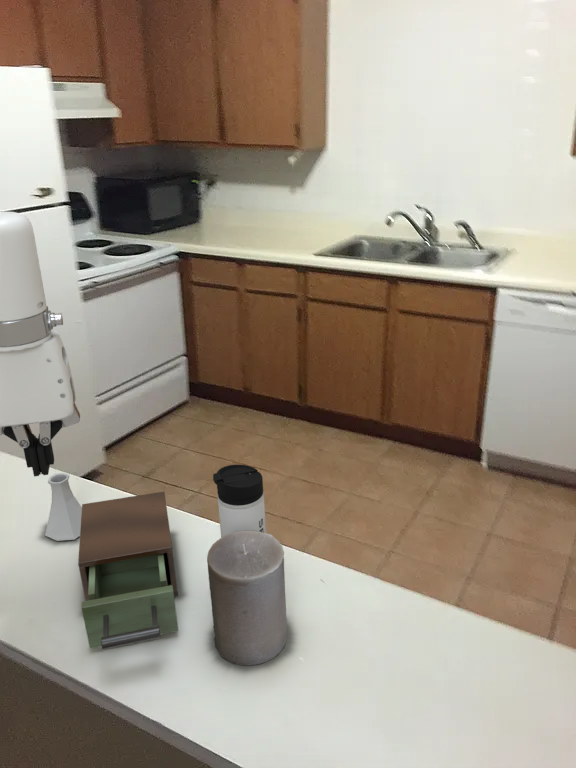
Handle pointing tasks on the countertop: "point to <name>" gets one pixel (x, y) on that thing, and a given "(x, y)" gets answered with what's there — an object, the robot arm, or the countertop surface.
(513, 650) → the countertop surface
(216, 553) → the pillar candle
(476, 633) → the countertop surface
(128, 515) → the cabinet
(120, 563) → the bin drawer
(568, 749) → the countertop surface
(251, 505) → the travel mug
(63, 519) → the flask
